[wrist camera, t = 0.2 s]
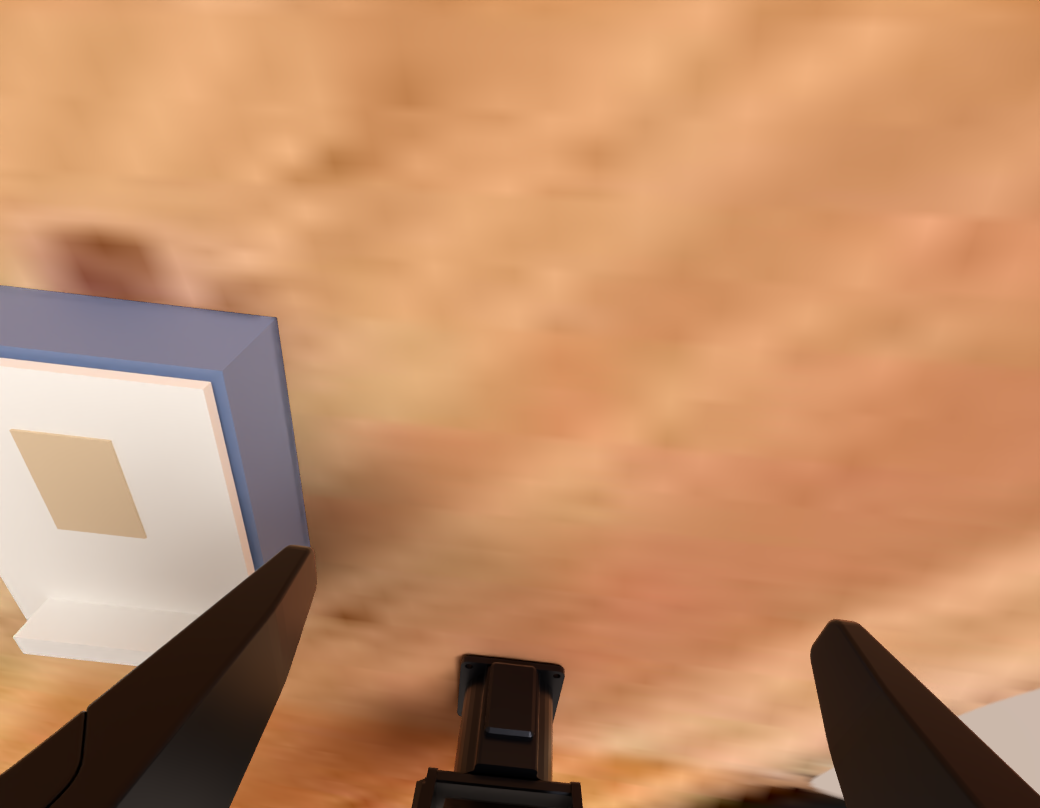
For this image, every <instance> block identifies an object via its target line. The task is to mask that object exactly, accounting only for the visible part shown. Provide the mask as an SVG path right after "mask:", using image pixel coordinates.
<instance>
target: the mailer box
mask: <svg viewBox="0 0 1040 808" xmlns="http://www.w3.org/2000/svg"><path fill="white" fill-rule="evenodd" d="M0 358H8V359H17V360H26V361H34V362H43V363H52V364H60V365H69V366H78V367H86V368H95V369H104V370H112V371H121V372H130V373H138V374H147V375H156V376H164V377H173V378H182V379H190V380H199V381H208V382H211V385H212V389H213V393H214V398H215V402H216V406H217V411H218V415H219V419H220V423H221V428H222V432H223V436H224V441H225V445H226V449H227V454H228V458H229V462H230V466H231V471H232V475H233V479H234V484H235V488H236V492H237V497H238V501H239V505H240V509H241V514H242V518H243V522H244V527H245V531H246V535H247V540H248V544H249V548H250V552H251V557H252V561H253V565H254V570H255V571H256V570H257V569H258V568H260V567H261V566H262V565H263V564H265V563H266V562H267V561H268V560H270V559H271V558H272V557H273V556H275V555H276V554H277V553H278V552H279V551H281V550H282V549H283V548H284V547H286V546H288V545H300V546H307V547H310V541H309V534H308V527H307V520H306V514H305V507H304V500H303V493H302V486H301V480H300V473H299V466H298V459H297V452H296V446H295V439H294V432H293V425H292V418H291V412H290V405H289V398H288V391H287V384H286V378H285V371H284V364H283V357H282V350H281V344H280V337H279V330H278V323H277V318H276V317H267V316H259V315H250V314H242V313H233V312H224V311H216V310H207V309H199V308H190V307H182V306H173V305H164V304H156V303H147V302H139V301H130V300H122V299H113V298H104V297H96V296H87V295H79V294H70V293H61V292H53V291H44V290H36V289H27V288H19V287H10V286H1V285H0Z"/></svg>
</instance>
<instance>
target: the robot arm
mask: <svg viewBox="0 0 1040 808" xmlns="http://www.w3.org/2000/svg"><path fill="white" fill-rule="evenodd" d="M316 584H317V574H316V563H315V553H314V550H313V548H311V547H307V546H300V545H288V546H286V547H284V548H283V549H282V550H281V551H279V552H278V553H277V554H276V555H275V556H273V557H272V558H271V559H270V560H268V561H267V562H266V563H265V564H263V565H262V566H261V567H260V568H258V569H257V570H256V571H255V572H253V573H252V574H251V575H250V576H249V577H247V578H246V579H245V580H244V581H242V582H241V583H240V584H239V585H237V586H236V587H235V588H234V589H232V590H231V591H230V592H229V593H228V594H226V595H225V596H224V597H223V598H221V599H220V600H219V601H218V602H216V603H215V604H214V605H213V606H211V607H210V608H209V609H208V610H206V611H205V612H204V613H203V614H202V615H200V616H199V617H198V618H197V619H195V620H194V621H193V622H192V623H190V624H189V625H188V626H187V627H185V628H184V629H183V630H182V631H181V632H179V633H178V634H177V635H176V636H174V637H173V638H172V639H171V640H169V641H168V642H167V643H166V644H164V645H163V646H162V647H161V648H160V649H158V650H157V651H156V652H155V653H153V654H152V655H151V656H150V657H148V658H147V659H146V660H145V661H143V662H142V663H141V664H140V665H138V666H137V667H136V668H135V669H134V670H132V671H131V672H130V673H129V674H127V675H126V676H125V677H124V678H122V679H121V680H120V681H119V682H117V683H116V684H115V685H114V686H113V687H111V688H110V689H109V690H108V691H106V692H105V693H104V694H103V695H101V696H100V697H99V698H98V699H96V700H95V701H94V702H93V703H91V704H90V705H89V706H88V707H87V711H82V712H80V713H79V714H78V715H76V716H75V717H74V718H73V719H71V720H70V721H69V722H68V723H66V724H65V725H64V726H63V727H61V728H60V729H59V730H58V731H57V732H55V733H54V734H53V735H51V736H50V737H49V738H48V739H46V740H45V741H44V742H42V743H41V744H40V745H39V746H37V747H36V748H35V749H34V750H32V751H31V752H30V753H28V754H27V755H26V756H25V757H23V758H22V759H21V760H19V761H18V762H17V763H16V764H14V765H13V766H12V767H10V768H9V769H8V770H6V771H5V772H3V773H2V774H1V775H0V808H229V807H230V805H231V803H232V801H233V798H234V796H235V794H236V792H237V790H238V787H239V785H240V783H241V781H242V778H243V776H244V774H245V772H246V769H247V767H248V765H249V763H250V761H251V758H252V756H253V754H254V752H255V749H256V747H257V745H258V743H259V740H260V738H261V736H262V734H263V732H264V729H265V727H266V725H267V723H268V720H269V718H270V716H271V714H272V711H273V709H274V707H275V705H276V703H277V700H278V698H279V696H280V693H281V691H282V689H283V686H284V684H285V681H286V679H287V676H288V673H289V670H290V667H291V664H292V661H293V658H294V655H295V652H296V649H297V646H298V643H299V640H300V637H301V634H302V630H303V627H304V624H305V621H306V618H307V615H308V612H309V609H310V606H311V603H312V600H313V597H314V593H315V590H316ZM810 659H811V665H812V669H813V674H814V679H815V684H816V689H817V694H818V699H819V704H820V708H821V713H822V718H823V723H824V728H825V733H826V737H827V742H828V746H829V750H830V754H831V757H832V761H833V764H834V768H835V771H836V774H837V777H838V780H839V783H840V787H841V790H842V794H843V797H844V800H845V803H846V807H847V808H1040V795H1039V794H1038V793H1037V792H1036V791H1034V790H1033V789H1032V788H1031V787H1030V786H1029V785H1028V784H1027V783H1026V782H1025V781H1024V780H1023V779H1022V778H1021V777H1020V776H1019V775H1018V774H1017V773H1016V772H1015V771H1014V770H1013V769H1011V768H1010V767H1009V766H1008V765H1007V764H1006V763H1005V762H1004V761H1003V760H1002V759H1001V758H1000V757H999V756H998V755H997V754H996V753H995V752H994V751H993V750H992V749H990V748H989V747H988V746H987V745H986V744H985V743H984V742H983V741H982V740H981V739H980V738H979V737H978V736H977V735H976V734H975V733H974V732H973V731H972V730H970V729H969V728H968V727H967V726H966V725H965V724H964V723H963V722H962V721H961V720H960V719H959V718H958V717H957V716H956V715H955V714H954V713H953V712H952V711H951V710H950V709H948V708H947V707H946V706H945V705H944V704H943V703H942V702H941V701H940V700H939V699H938V698H937V697H936V696H935V695H934V694H933V693H932V692H931V691H930V690H929V689H927V688H926V687H925V686H924V685H923V684H922V683H921V682H920V681H919V680H918V679H917V678H916V677H915V676H914V675H913V674H912V673H911V672H910V671H909V670H908V669H906V668H905V667H904V666H903V665H902V664H901V663H900V662H899V661H898V660H897V659H896V658H895V657H894V656H893V655H892V654H891V653H890V652H889V651H888V650H887V649H885V648H884V647H883V646H882V645H881V644H880V643H879V642H878V641H877V640H876V639H875V638H874V637H873V636H872V635H871V634H870V633H869V632H868V631H867V630H866V629H864V628H863V627H862V626H861V625H860V624H858V623H856V622H853V621H847V620H840V619H833V620H831V621H829V622H828V623H827V625H826V626H825V628H824V629H823V631H822V632H821V633H820V635H819V636H818V638H817V639H816V641H815V642H814V644H813V645H812V648H811V653H810ZM564 677H565V675H564V668H563V667H561V666H558V665H549V664H540V663H531V662H522V661H513V660H504V659H495V658H486V657H477V656H464V657H463V658H462V662H461V671H460V684H459V698H458V711H457V713H458V715H459V716H461V724H460V731H459V738H458V746H457V753H456V760H455V767H454V772H452V771H442V770H438V768H431V767H429V768H428V773H427V778H426V777H425V779H423V780H420V781H417V783H416V788H415V793H414V799H413V804H412V808H583V806H582V795H581V785H580V782H570V783H561V782H552V725H553V720H554V716H555V712H556V708H557V704H558V701H559V697H560V693H561V689H562V685H563V681H564Z"/></svg>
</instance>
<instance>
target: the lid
mask: <svg viewBox="0 0 1040 808" xmlns="http://www.w3.org/2000/svg"><path fill="white" fill-rule="evenodd" d="M253 572H255V570H254V565H253V561H252V557H251V552H250V548H249V544H248V540H247V535H246V531H245V527H244V522H243V518H242V514H241V509H240V505H239V501H238V497H237V492H236V488H235V484H234V479H233V475H232V471H231V466H230V462H229V458H228V454H227V449H226V445H225V441H224V436H223V432H222V428H221V423H220V419H219V415H218V411H217V406H216V402H215V398H214V393H213V389H212V385H211V382H208V381H199V380H190V379H182V378H173V377H164V376H156V375H147V374H138V373H130V372H121V371H112V370H104V369H95V368H86V367H78V366H69V365H60V364H52V363H43V362H34V361H26V360H17V359H8V358H0V576H1V578H2V580H3V581H4V583H5V585H6V586H7V588H8V590H9V591H10V593H11V595H12V596H13V598H14V600H15V601H16V603H17V605H18V606H19V608H20V609H21V611H22V613H23V614H24V616H25V618H26V619H27V622H26V623H25V624H24V625H23V626H22V627H21V628H20V630H19V631H18V632H17V633H16V634H15V635H14V636H13V638H14V640H15V641H16V643H17V644H18V646H19V648H20V649H21V651H22V652H23V654H32V655H41V656H50V657H59V658H68V659H78V660H87V661H96V662H105V663H114V664H123V665H132V666H138V665H140V664H141V663H142V662H143V661H145V660H146V659H147V658H148V657H150V656H151V655H152V654H153V653H155V652H156V651H157V650H158V649H160V648H161V647H162V646H163V645H164V644H166V643H167V642H168V641H169V640H171V639H172V638H173V637H174V636H176V635H177V634H178V633H179V632H181V631H182V630H183V629H184V628H185V627H187V626H188V625H189V624H190V623H192V622H193V621H194V620H195V619H197V618H198V617H199V616H200V615H202V614H203V613H204V612H205V611H206V610H208V609H209V608H210V607H211V606H213V605H214V604H215V603H216V602H218V601H219V600H220V599H221V598H223V597H224V596H225V595H226V594H228V593H229V592H230V591H231V590H232V589H234V588H235V587H236V586H237V585H239V584H240V583H241V582H242V581H244V580H245V579H246V578H247V577H249V576H250V575H251V574H252V573H253Z"/></svg>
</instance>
